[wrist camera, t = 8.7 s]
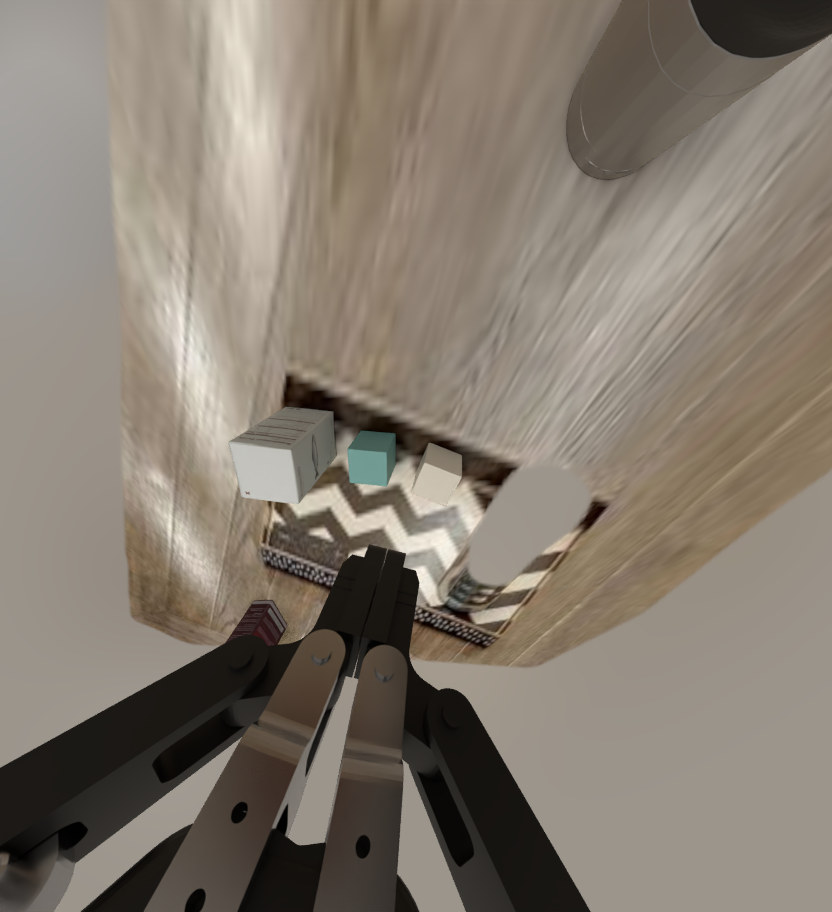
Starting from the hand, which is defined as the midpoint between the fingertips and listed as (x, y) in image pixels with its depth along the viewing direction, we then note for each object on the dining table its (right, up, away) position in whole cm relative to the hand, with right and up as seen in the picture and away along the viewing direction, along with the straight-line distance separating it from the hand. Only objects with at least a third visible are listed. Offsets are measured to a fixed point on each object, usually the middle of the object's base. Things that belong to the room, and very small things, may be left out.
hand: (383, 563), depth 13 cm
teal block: (-4, +5, +33) cm, 34 cm away
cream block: (+5, +3, +33) cm, 33 cm away
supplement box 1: (-14, +8, +33) cm, 37 cm away
